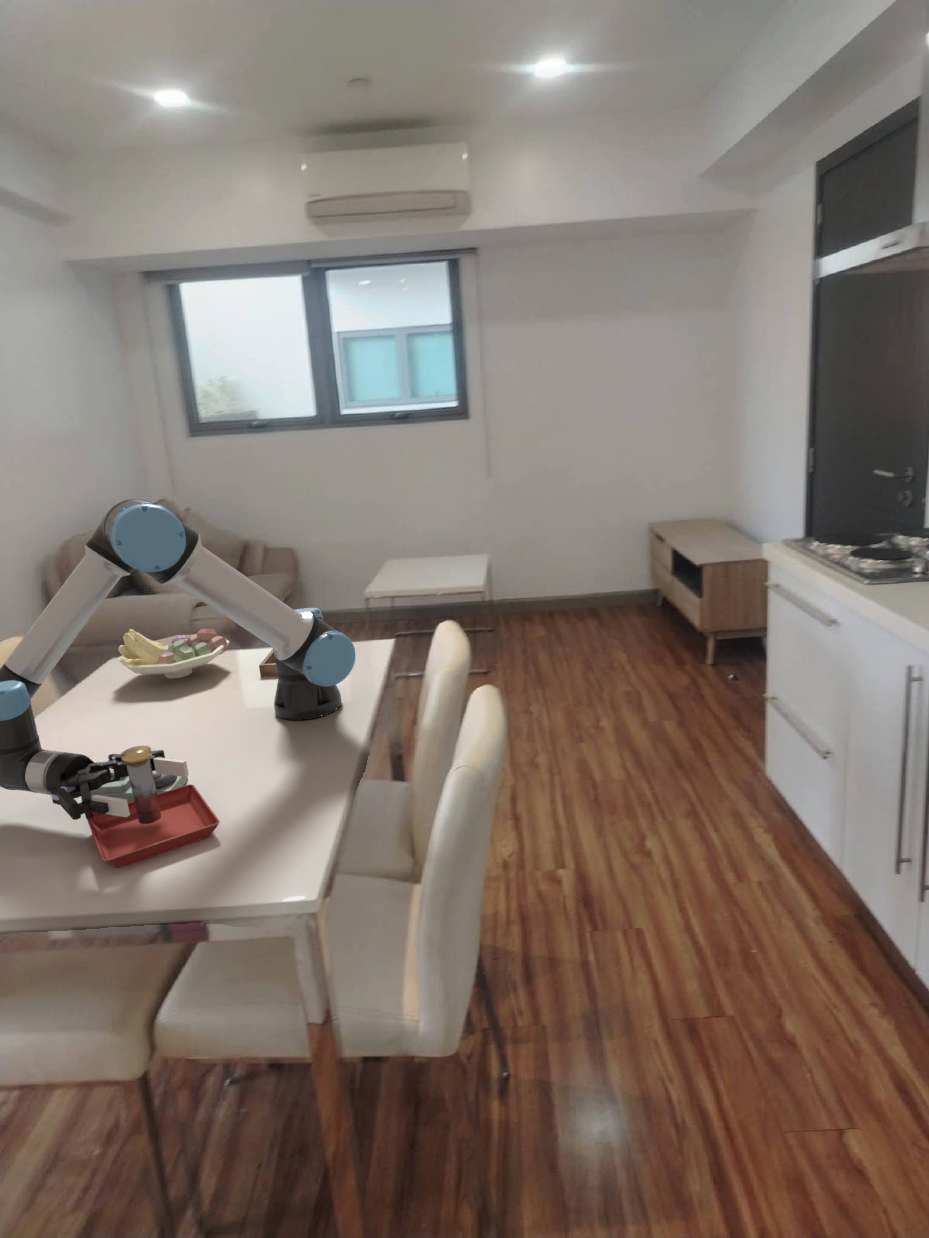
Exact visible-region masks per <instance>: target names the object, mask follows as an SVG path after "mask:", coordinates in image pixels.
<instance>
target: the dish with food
mask: <svg viewBox="0 0 929 1238" xmlns="http://www.w3.org/2000/svg"><path fill="white" fill-rule="evenodd" d="M122 639H123V643H124V644H123V645H122V644H121V645H119V646H118V648H117V650H118V652H119V653H120V655H121V656H119V657H117V661H119V663H121V664H122V666H124V667H126V668H128V670H130V671H132V672H133V673H135V674H138V675H164V676H165V678H167V679H181V678H183V677H186V676H189V675H190V674H192V673H193V669H195V668H198V667H203V666H206V664H208V663H210V662H212V661H213V660H214V659H215V658H217V657H218V656H219V655H220V656H221V655H222V654H223V653H225V652H226V651H228V646H229V643H230V640H228V639H226V638H225V637H224V636H221V635H218V633H217V631H216V630H215V628H200V629H199V631H197V633H194V634H193V633H192V634H178V635H177V634H176V635H173V636H168V637H164V638H161V639H160V638H159V639H157V640H152V639H149V638H147V637H146V636H144V635H143V634H141V633H140V632H137V631H135V630H134V629H132V628H131V629H128V632H124V634H123V636H122Z"/></svg>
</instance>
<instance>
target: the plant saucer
mask: <svg viewBox="0 0 929 1238" xmlns="http://www.w3.org/2000/svg"><path fill="white" fill-rule="evenodd" d="M157 797H158V802H159V806H160V811H161V818H160V819H159V820H157V821H155V822H153V823H150V824H141V823H139V821H138V816H137V812H136V807H135V803H134V801H132V802H129V803H128V808H129V812H130V815H129V816H128V817H121V816H115V815H109V814H97V813H94V817H93V818H90V819H86V821H87V823H88V826H89V829H90V832H91V834H92V836H93V838H94V842H95V844H96V847H97V849H98V852H99V854H100V857H101V860H102V861H103V862H105V863H106V864H107V865H110V866H112V867H115V868H122V867H125V866H128V865H130V864H133V863H137V862H139V861H142V860H144V859H145V860H146V859H148V858H150V857H151V858H152V857H153V856H158V855H159V854H163V853H165V852H168V851H171V850H174V849H177V848H179V847H183V846H186V845H188V844H191V843H195V842H197V841H199V840H202V839H206V838H208V837H210V836H211V835H212V833H214V831H215V830H216V829H217V828H218V826H219V824H220V823H221V822H220V819H219V818H218V817H217V815H216V814H215V813H214V811H213V810H212V808H211V807H210V806H209V804H208V803H207V802H206V799H205V798H204V797H203V796H202V795H201V793H200V792H199V790H198V789H197V787H196V786H195V785H194V784H191V783H190V784H186V785H184V786H182V787H179V788H176V789H172V790H169V791H166V792H162V793H159V794H157Z"/></svg>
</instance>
